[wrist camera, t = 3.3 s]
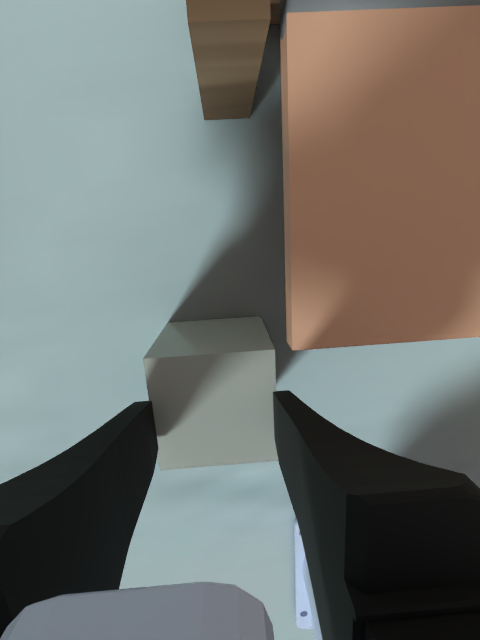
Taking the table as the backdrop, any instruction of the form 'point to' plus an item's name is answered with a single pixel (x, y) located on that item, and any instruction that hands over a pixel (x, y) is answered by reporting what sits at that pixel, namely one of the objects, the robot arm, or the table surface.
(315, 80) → the trapdoor
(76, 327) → the table surface
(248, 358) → the stone block
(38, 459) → the table surface
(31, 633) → the robot arm
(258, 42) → the frame
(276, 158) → the table surface
